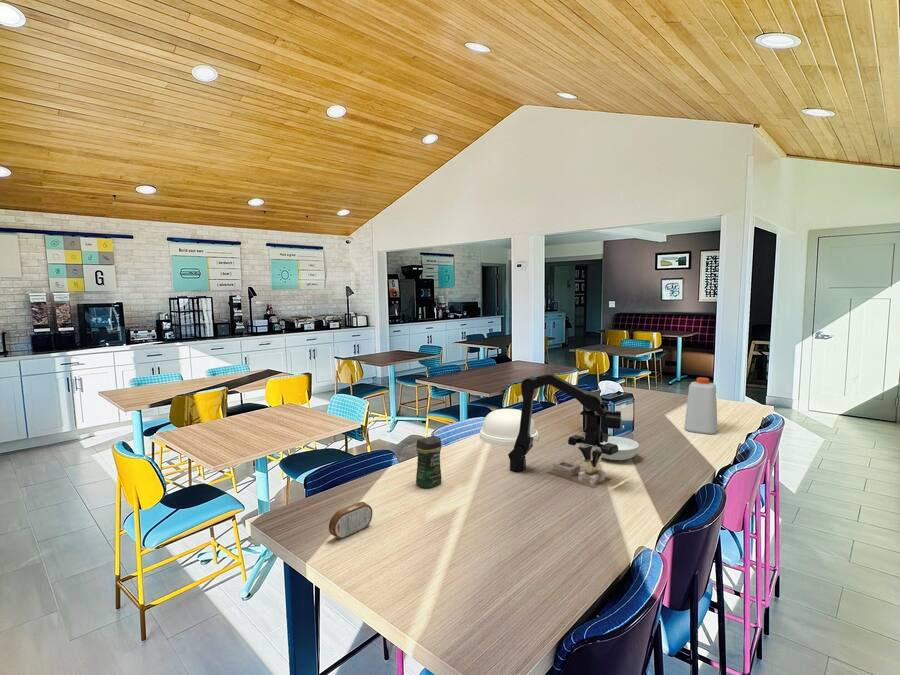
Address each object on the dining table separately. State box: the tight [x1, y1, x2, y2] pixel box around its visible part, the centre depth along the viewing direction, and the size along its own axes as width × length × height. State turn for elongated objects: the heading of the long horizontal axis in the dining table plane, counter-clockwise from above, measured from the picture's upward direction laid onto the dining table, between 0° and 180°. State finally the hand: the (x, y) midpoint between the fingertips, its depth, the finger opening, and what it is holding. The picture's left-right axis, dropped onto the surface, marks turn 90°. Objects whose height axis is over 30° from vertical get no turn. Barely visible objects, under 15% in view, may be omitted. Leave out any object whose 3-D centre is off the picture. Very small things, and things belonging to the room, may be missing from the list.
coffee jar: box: [415, 435, 442, 489], centre depth 187 cm, size 10×8×19 cm
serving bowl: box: [591, 435, 640, 461], centre depth 217 cm, size 21×21×7 cm
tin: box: [328, 501, 373, 539], centre depth 150 cm, size 15×3×8 cm, turn 138°
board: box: [545, 459, 613, 489], centre depth 193 cm, size 13×22×4 cm, turn 43°
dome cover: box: [478, 408, 539, 448], centre depth 248 cm, size 32×30×14 cm
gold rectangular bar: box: [582, 456, 602, 475], centre depth 188 cm, size 2×10×7 cm, turn 133°
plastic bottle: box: [683, 376, 718, 435], centre depth 258 cm, size 15×15×28 cm
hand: (591, 466), depth 188 cm, fingers closed on gold rectangular bar, 2 cm apart
